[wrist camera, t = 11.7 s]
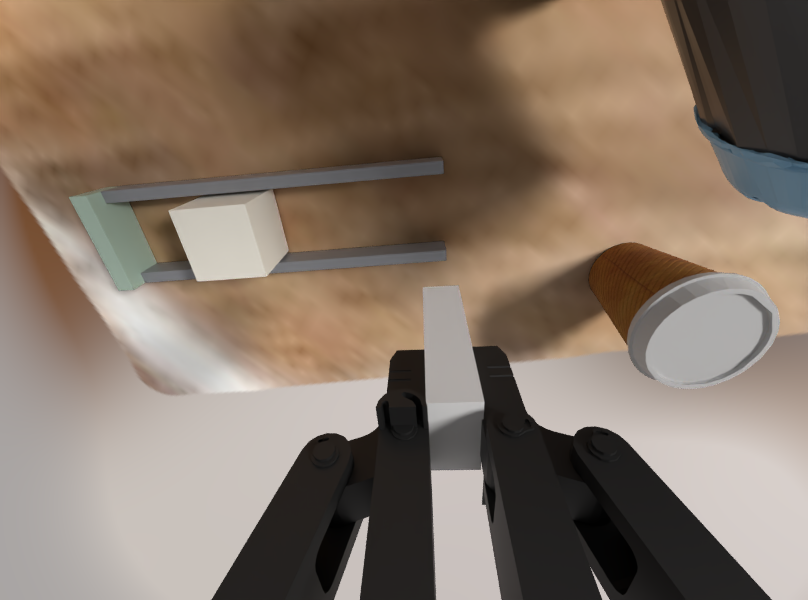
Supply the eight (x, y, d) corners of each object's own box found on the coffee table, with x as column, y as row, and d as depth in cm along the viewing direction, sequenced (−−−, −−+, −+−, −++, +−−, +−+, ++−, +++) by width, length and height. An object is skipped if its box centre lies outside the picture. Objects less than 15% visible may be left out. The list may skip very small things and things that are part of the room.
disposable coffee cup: (677, 292, 36) (786, 368, 26) (583, 325, 38) (648, 408, 28) (666, 208, 32) (790, 258, 22) (561, 251, 34) (627, 315, 24)
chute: (106, 187, 32) (68, 197, 29) (440, 156, 30) (444, 163, 27) (147, 273, 36) (118, 290, 33) (444, 250, 34) (447, 267, 31)
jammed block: (208, 193, 32) (168, 210, 27) (272, 187, 32) (244, 204, 26) (229, 255, 35) (197, 281, 30) (288, 250, 35) (266, 276, 29)
